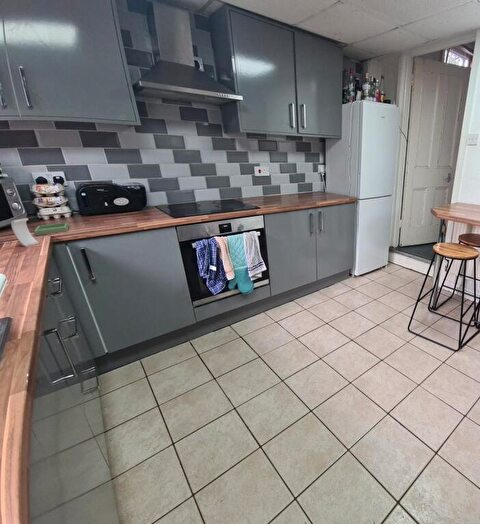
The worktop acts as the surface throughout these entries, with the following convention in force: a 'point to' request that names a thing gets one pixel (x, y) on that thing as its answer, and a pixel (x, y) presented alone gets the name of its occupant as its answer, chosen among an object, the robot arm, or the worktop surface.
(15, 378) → the worktop surface
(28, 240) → the light grey curved piece
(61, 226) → the tray
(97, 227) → the worktop surface
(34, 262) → the worktop surface
